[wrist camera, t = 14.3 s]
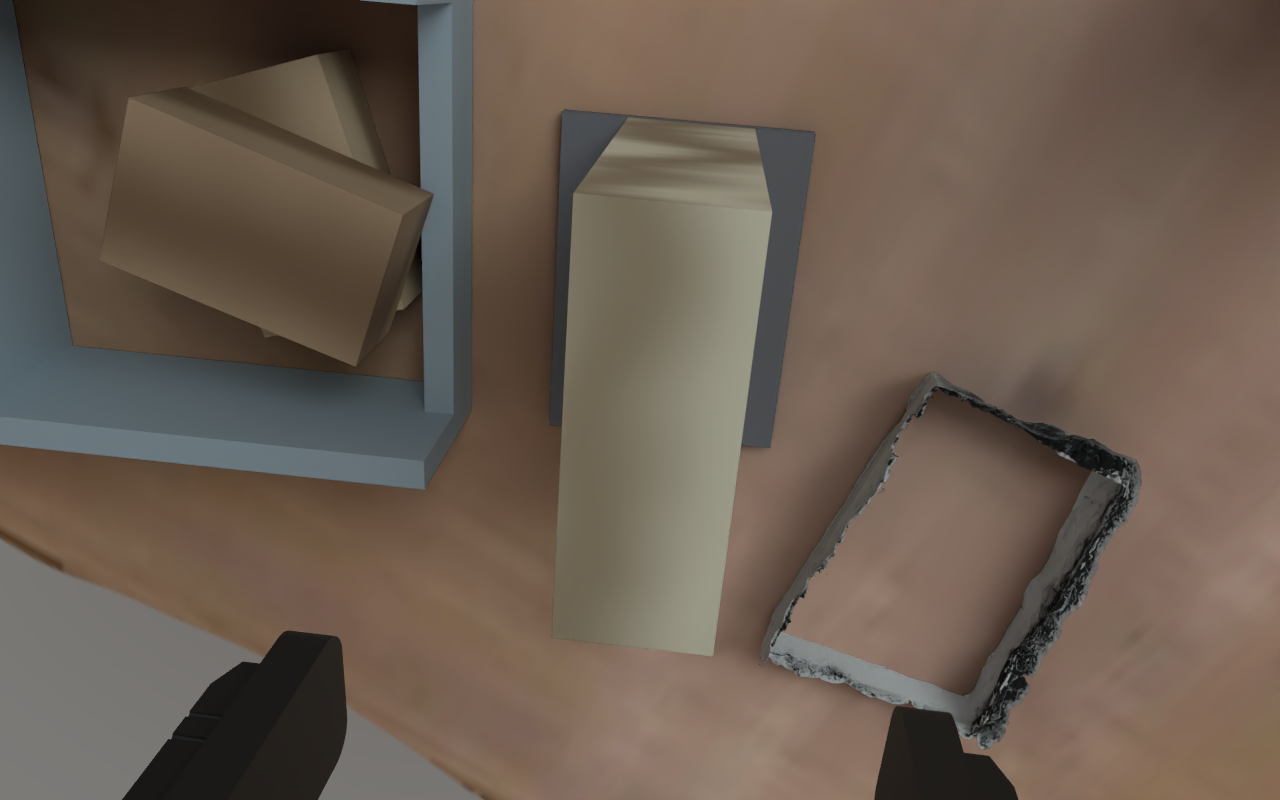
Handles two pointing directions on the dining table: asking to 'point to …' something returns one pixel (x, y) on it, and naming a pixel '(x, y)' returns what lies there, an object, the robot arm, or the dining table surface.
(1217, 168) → the dining table surface
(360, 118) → the offcut block lower
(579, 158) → the mat
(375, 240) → the offcut block upper
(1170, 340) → the dining table surface
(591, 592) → the beige hardcover book
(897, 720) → the robot arm
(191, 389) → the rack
